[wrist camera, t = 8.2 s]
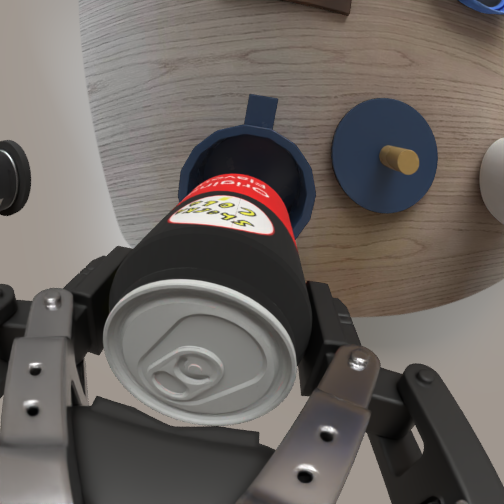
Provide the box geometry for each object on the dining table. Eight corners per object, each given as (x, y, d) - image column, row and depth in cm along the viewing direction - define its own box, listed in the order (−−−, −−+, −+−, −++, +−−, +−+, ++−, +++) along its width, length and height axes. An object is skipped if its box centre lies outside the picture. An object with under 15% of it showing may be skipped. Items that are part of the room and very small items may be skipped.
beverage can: (309, 229, 18) (365, 378, 7) (232, 288, 20) (202, 452, 9) (240, 148, 17) (189, 192, 6) (163, 218, 18) (51, 342, 7)
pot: (189, 242, 36) (171, 271, 29) (209, 94, 29) (193, 86, 22) (287, 260, 36) (291, 293, 29) (319, 113, 29) (334, 110, 22)
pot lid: (318, 196, 33) (329, 212, 27) (342, 84, 28) (358, 75, 22) (417, 221, 33) (441, 239, 27) (442, 120, 28) (471, 122, 22)
